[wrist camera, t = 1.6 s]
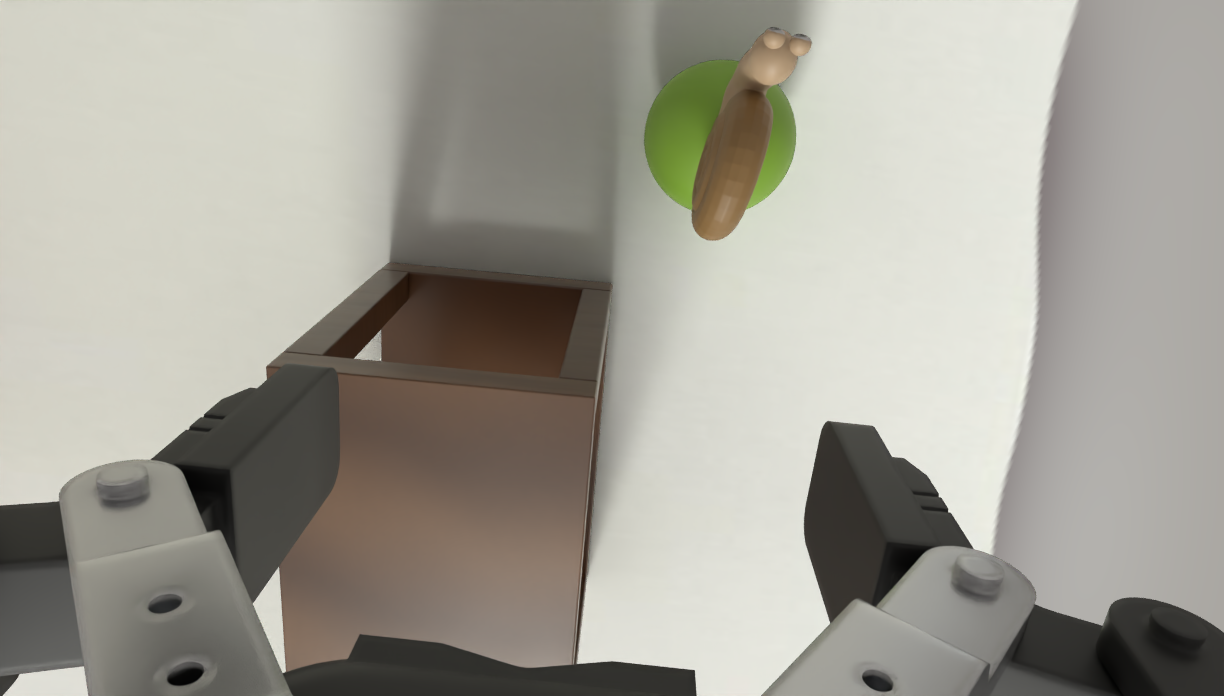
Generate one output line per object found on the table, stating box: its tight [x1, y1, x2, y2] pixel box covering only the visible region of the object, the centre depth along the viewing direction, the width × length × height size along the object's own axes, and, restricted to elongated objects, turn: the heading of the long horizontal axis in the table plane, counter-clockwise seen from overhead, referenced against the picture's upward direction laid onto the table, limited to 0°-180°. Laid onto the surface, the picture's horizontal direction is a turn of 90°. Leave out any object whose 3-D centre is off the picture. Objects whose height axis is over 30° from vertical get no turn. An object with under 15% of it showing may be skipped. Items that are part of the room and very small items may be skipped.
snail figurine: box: [644, 27, 811, 240], centre depth 27 cm, size 5×6×12 cm
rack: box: [266, 263, 613, 672], centre depth 31 cm, size 15×10×14 cm, turn 175°
